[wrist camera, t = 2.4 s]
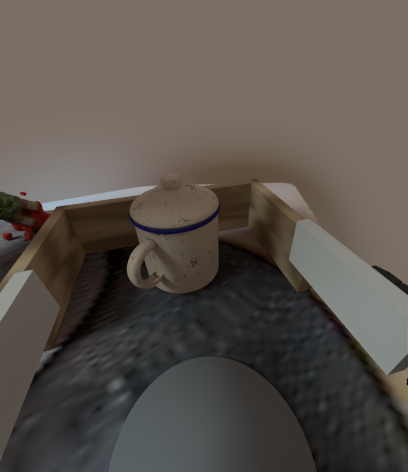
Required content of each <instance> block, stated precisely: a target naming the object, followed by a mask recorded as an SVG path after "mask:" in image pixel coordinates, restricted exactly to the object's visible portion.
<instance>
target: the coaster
mask: <svg viewBox="0 0 408 472" xmlns="http://www.w3.org/2000/svg"><path fill="white" fill-rule="evenodd" d="M108 472H317V471H316V467H315V463H314V460H313V457H312V454H311V450H310V448H309V445H308V443H307V440H306V438H305V435H304V433H303V430H302V429H301V427H300V425H299V423H298V421H297V419H296V417H295V415H294V414H293V412H292V410H291V409H290V407H289V406H288V404H287V403H286V401H285V400H284V399H283V397H282V396H281V395H280V394H279V392H278V391H277V390H276V389H275V388H274V387H273V386H272V385H271V384H270V383H269V382H268V381H267V380H266V379H265V378H264V377H262V376H261V375H260V374H259V373H257V372H256V371H254V370H253V369H251V368H250V367H248V366H246V365H244V364H242V363H240V362H237V361H234V360H231V359H227V358H223V357H213V356H209V357H199V358H193V359H190V360H187V361H184V362H182V363H179V364H177V365H175V366H173V367H172V368H170V369H169V370H167V371H166V372H164V373H163V374H162V375H160V376H159V377H158V378H157V379H156V380H155V381H154V382H153V383H152V384H151V385H150V386H149V387H148V388H147V389H146V390H145V391H144V393H143V394H142V395H141V396H140V398H139V399H138V400H137V402H136V404H135V405H134V407H133V408H132V410H131V411H130V413H129V415H128V417H127V419H126V421H125V423H124V425H123V427H122V429H121V432H120V434H119V437H118V439H117V442H116V445H115V448H114V451H113V454H112V457H111V461H110V466H109V470H108Z"/></svg>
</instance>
